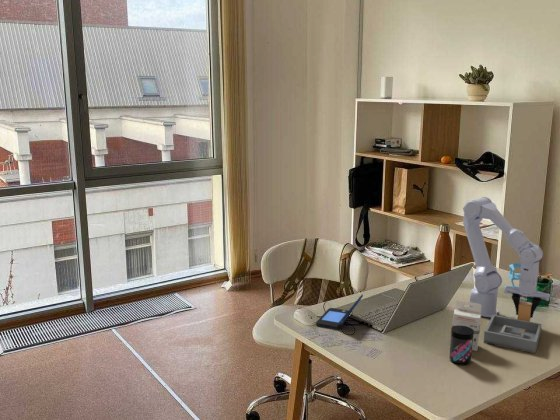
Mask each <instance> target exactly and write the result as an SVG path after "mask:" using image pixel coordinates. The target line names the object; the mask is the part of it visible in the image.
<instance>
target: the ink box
mask: <svg viewBox="0 0 560 420" xmlns="http://www.w3.org/2000/svg"><path fill="white" fill-rule="evenodd" d="M469 306H473V308H470V307H469ZM481 306H482V305H481V304H477V303H471V302H470V301H466V300H465V301H463V300H458V299H457V300H456V301H455V308H454V312H453V316H452V323H451V324H452V326H451V328H452V327H453V326H457V325H461V326H467V327H470V328H471V329H473V330H474V336H473V346H472V352H477V351H478V348H479V343H480V342H479V341H480V331H481V323H482V316H481Z"/></svg>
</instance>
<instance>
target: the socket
mask: <svg viewBox="0 0 560 420" xmlns="http://www.w3.org/2000/svg"><path fill="white" fill-rule="evenodd" d="M505 332H510V333H515V334H519V335H515V334H510V333H505ZM501 334H505V335H510V336H515V337H519V338H524V336H525V329H522V328H517V327H512V326H506V325H504V326H503V328H502V330H501ZM520 335H521V336H520Z"/></svg>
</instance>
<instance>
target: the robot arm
mask: <svg viewBox="0 0 560 420" xmlns="http://www.w3.org/2000/svg"><path fill="white" fill-rule="evenodd" d="M462 210H463V217H462V218H463V220H462V222H463V223H462V224H463V228H464V230H465V234H466V237H467V240H468V244H469V248H470V251H471V254H472V258H473V261H474V264H475V271H474V274H473V276H474V277H473V278H474V287H475V288H472V289H471V290H470V295H469V296H470V297H469V302H471V303H477V304H481V305H482V306H481V317H484V318H490V319H491V317H492V315H497V316H498V313H499V310H498V309H497V303H498V294H499V287H500V286H502V283H503V278H502V276H501V274H500V273H499V272H498V270H497V267H495V266H494V265H493V264H492V262H491V259H490V256H489V252H488V248H487V246H486V242H485V239H484V235H483V231H482V230H481V226H480V223H481V222H482V220H483V219H485V220H490V221H491V222H492V223H493V224H494V225H495V226H496V227H497V228H498V229H499V230H500V231H501V233H503V234H504V235H505V241H506V242H507V243H509V245H510V246H511V247H512V248H513V249H514V251H516V253H518V258H519V261H520V263H521V268H520V271H519V273H520V280H518V281H519V282H518V287H519V288H515V287H516V286H515V287H505V286H504V294H507V295H508V294H511V299H512V302H513V304H514V308H515V315H516V316H518V309H519V303H520V301H521V296H522V297H527V298H528V297H529V298H532V300H531V303H532V309H531V314H530V317H531V319H532V318H533V317H534V313H535V310H536V309H537V308H538V306H539V304H540V303H541V300H544V301H546V302H549V301H550V297H551V296H550V293H546V292H542V291H539V290H537V284H538V277H539V268H540V260H542V258H543V257H544V251H543V249H542V248H541V245H538V244H534V243H533V241H531V240H529V238H528V237H527V236H526V235H525V232H524V231H523V230H520V229H518V228H514V227H513V226H512V225H511V224H510V223H509V221H508V220H507V219H506V218H505V217H504V215H503V214H502V213H501V212H500V211H499V210H498V208H497V205H496V203H494V202H493V201H492V200H491V199H490V198H489V197H487V196H481V197H479V198H476V199H475V198H474V199H470V200H468V201H467V202H466V203H465V204H464V206H463V207H462ZM468 307H470V308H473V306H470V305H468Z"/></svg>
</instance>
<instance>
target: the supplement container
mask: <svg viewBox="0 0 560 420" xmlns="http://www.w3.org/2000/svg"><path fill="white" fill-rule="evenodd" d="M450 329H451V330H450V340H449V342H450V343H449V360H450V361H451V363H452V364H455V365H459V366H466V365H469V364H470V363H471V362H472V358H473V357H472V355H473V350H472V346H473V336H474V330H473V329H471V328H470V327H467V326H461V325H457V326H453V327H452V326H451V328H450Z"/></svg>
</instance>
